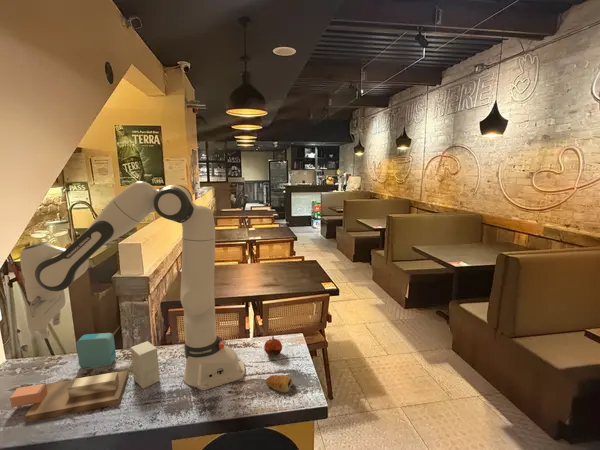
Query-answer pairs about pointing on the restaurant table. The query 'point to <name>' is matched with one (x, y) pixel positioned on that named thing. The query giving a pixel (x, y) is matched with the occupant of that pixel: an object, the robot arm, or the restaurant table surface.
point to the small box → (145, 364)
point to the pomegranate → (273, 347)
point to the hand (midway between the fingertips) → (51, 330)
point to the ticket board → (80, 395)
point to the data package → (96, 350)
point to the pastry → (279, 382)
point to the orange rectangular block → (28, 395)
